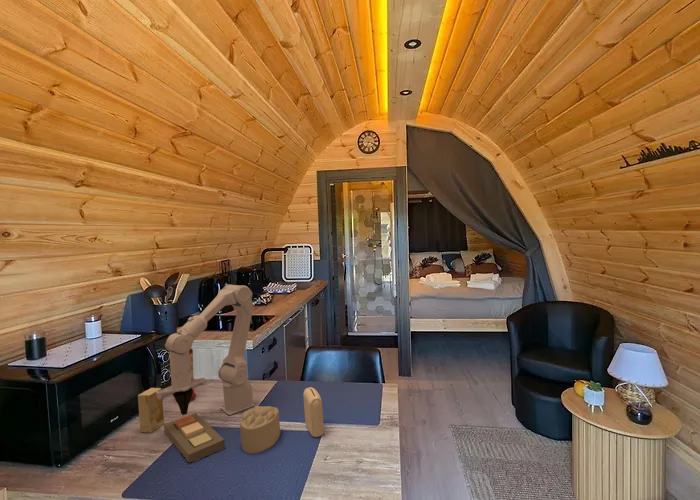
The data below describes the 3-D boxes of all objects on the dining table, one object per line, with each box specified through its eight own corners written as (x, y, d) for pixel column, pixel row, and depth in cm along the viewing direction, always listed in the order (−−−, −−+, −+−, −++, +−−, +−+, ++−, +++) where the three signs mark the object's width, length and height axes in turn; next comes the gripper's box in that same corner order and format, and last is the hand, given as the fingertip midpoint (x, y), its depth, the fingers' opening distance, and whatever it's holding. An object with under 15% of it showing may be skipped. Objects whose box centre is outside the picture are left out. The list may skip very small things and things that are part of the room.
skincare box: (151, 433, 118) (148, 395, 118) (139, 432, 119) (136, 395, 119) (165, 423, 125) (162, 387, 124) (154, 422, 126) (151, 387, 125)
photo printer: (303, 423, 119) (301, 385, 118) (316, 420, 120) (314, 382, 120) (311, 439, 109) (309, 398, 109) (325, 435, 111) (323, 395, 110)
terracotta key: (190, 420, 122) (190, 414, 122) (196, 425, 118) (195, 419, 118) (174, 426, 118) (174, 420, 118) (179, 432, 115) (179, 425, 115)
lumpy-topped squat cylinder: (283, 429, 116) (281, 402, 116) (269, 453, 103) (267, 423, 103) (251, 429, 117) (249, 402, 117) (233, 453, 104) (231, 423, 104)
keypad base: (196, 420, 125) (195, 412, 125) (224, 448, 107) (224, 439, 107) (164, 431, 119) (163, 424, 119) (189, 463, 101) (188, 454, 101)
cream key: (198, 428, 116) (197, 421, 116) (203, 433, 113) (203, 427, 113) (181, 434, 113) (181, 428, 113) (186, 440, 109) (186, 434, 109)
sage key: (206, 439, 111) (206, 432, 111) (212, 445, 107) (212, 439, 107) (189, 446, 108) (188, 439, 108) (195, 453, 104) (194, 446, 104)
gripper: (159, 381, 110) (162, 426, 110) (208, 368, 119) (211, 409, 120) (153, 375, 115) (156, 418, 116) (200, 363, 125) (203, 402, 125)
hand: (184, 413), depth 118 cm, fingers closed
